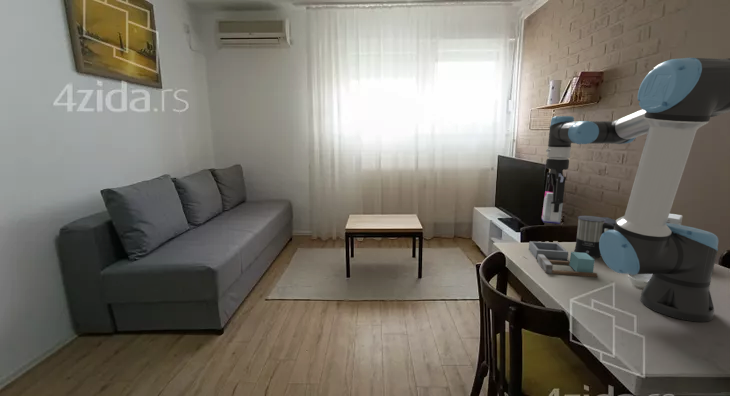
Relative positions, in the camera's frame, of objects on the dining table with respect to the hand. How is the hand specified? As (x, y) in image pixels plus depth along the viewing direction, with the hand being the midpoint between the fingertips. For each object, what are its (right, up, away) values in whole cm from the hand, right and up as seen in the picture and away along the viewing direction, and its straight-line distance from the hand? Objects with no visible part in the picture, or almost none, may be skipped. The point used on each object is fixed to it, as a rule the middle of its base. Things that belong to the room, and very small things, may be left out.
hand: (551, 217), depth 134 cm
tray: (0, -15, +3) cm, 15 cm away
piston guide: (-1, -18, -11) cm, 21 cm away
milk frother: (+20, -15, +7) cm, 26 cm away
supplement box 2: (+44, -15, +2) cm, 46 cm away
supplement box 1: (0, -2, 0) cm, 2 cm away
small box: (+34, -12, +18) cm, 41 cm away
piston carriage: (+4, -18, -12) cm, 22 cm away
